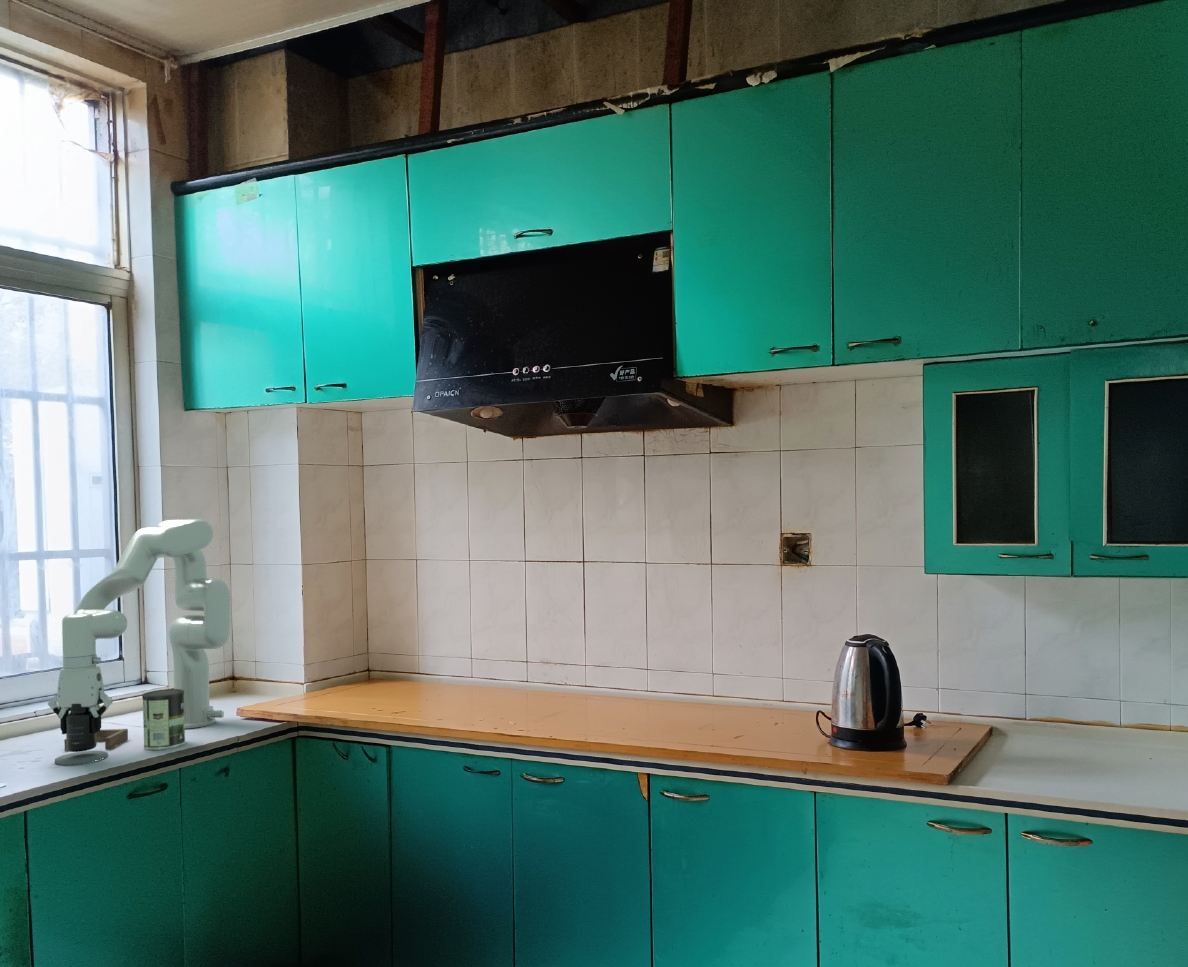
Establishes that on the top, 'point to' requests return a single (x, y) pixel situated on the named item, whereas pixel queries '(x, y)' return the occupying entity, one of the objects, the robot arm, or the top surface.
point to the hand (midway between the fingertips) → (81, 732)
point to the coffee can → (163, 719)
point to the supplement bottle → (79, 729)
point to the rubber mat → (80, 757)
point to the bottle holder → (110, 737)
